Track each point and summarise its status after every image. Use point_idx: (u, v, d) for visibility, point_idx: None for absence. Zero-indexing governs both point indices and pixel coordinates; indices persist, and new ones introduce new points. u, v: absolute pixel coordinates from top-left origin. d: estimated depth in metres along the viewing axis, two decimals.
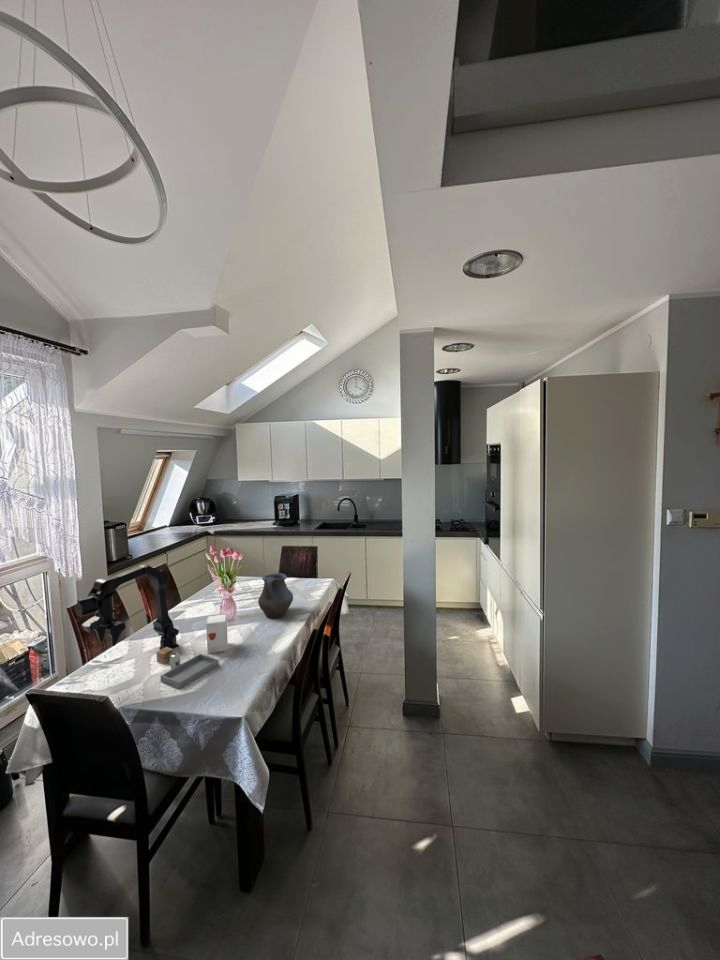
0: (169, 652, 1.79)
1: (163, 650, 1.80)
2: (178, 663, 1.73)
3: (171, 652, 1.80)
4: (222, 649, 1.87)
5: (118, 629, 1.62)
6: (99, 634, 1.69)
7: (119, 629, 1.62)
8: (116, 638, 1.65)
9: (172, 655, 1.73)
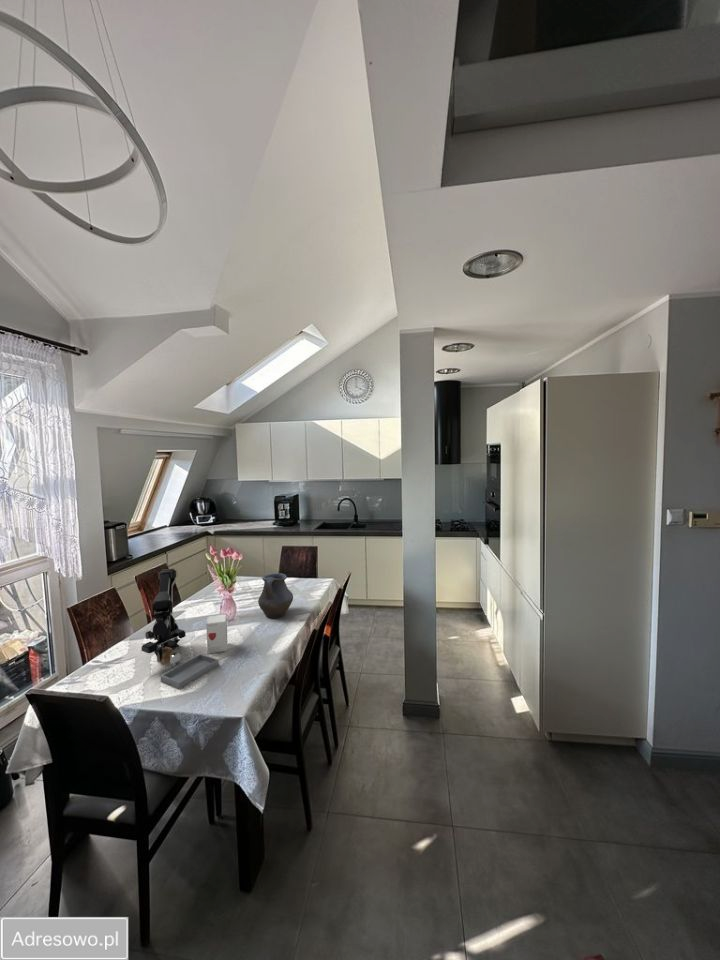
0: (169, 652, 1.79)
1: (163, 650, 1.80)
2: (178, 663, 1.73)
3: (171, 652, 1.80)
4: (222, 649, 1.87)
5: (144, 650, 1.72)
6: None
7: (145, 650, 1.71)
8: (159, 656, 1.76)
9: (172, 655, 1.73)
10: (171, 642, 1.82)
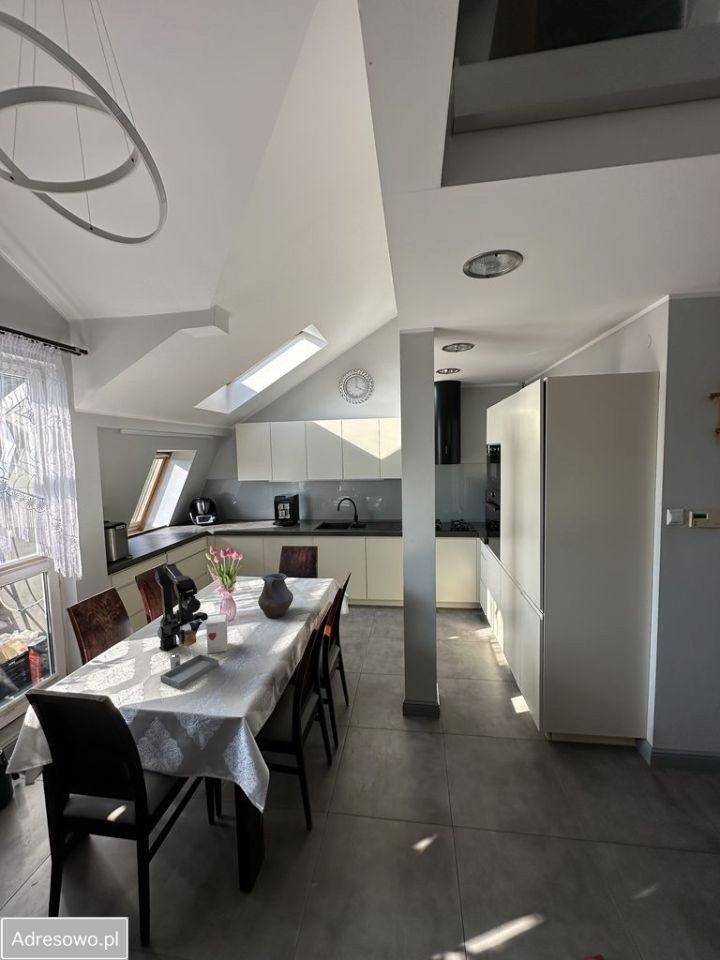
0: (191, 634, 1.72)
1: (185, 632, 1.73)
2: (178, 663, 1.73)
3: (193, 634, 1.73)
4: (222, 649, 1.87)
5: (166, 631, 1.65)
6: None
7: (167, 632, 1.65)
8: (181, 638, 1.70)
9: (172, 655, 1.73)
10: (193, 625, 1.75)
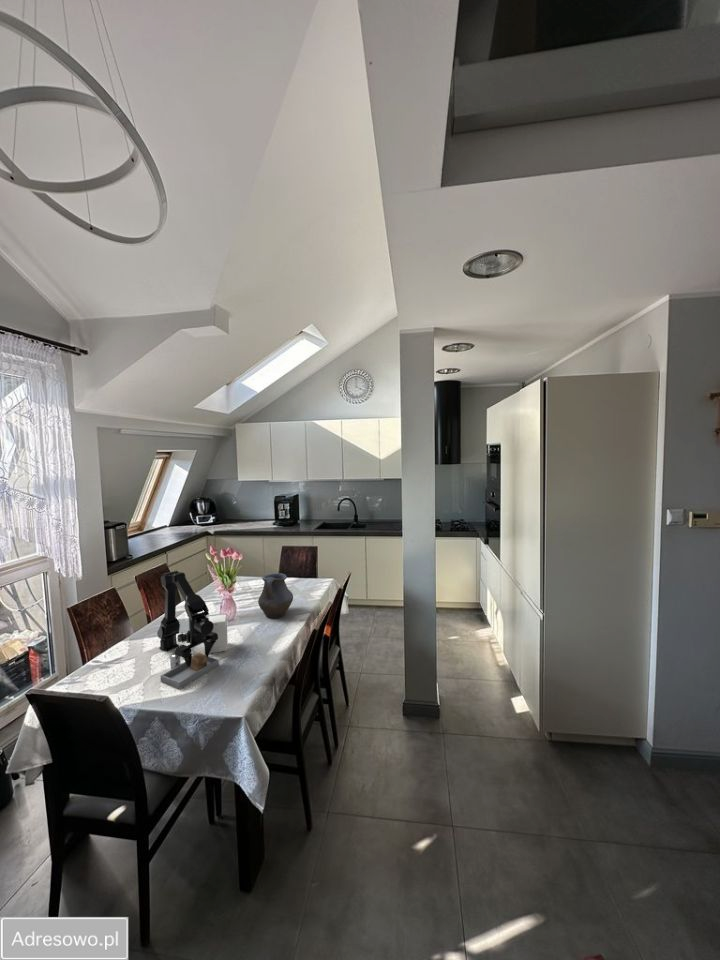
0: (202, 658, 1.72)
1: (196, 656, 1.72)
2: (178, 663, 1.73)
3: (204, 658, 1.72)
4: (222, 649, 1.87)
5: (178, 653, 1.64)
6: (205, 649, 1.77)
7: (178, 654, 1.64)
8: (188, 661, 1.67)
9: (172, 655, 1.73)
10: (207, 643, 1.76)
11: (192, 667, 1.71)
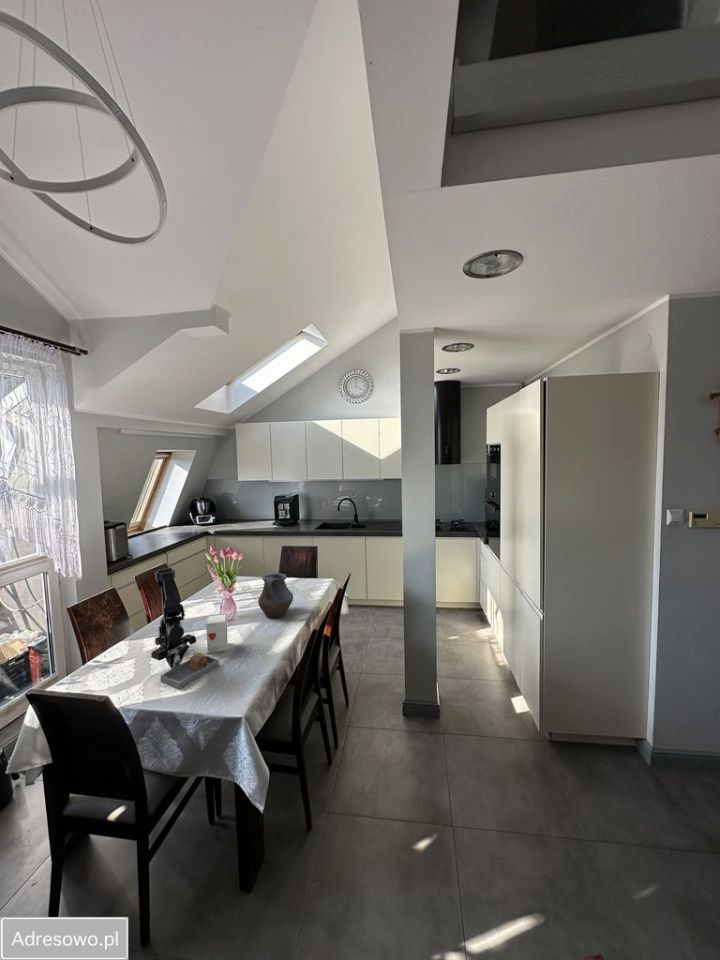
0: (202, 658, 1.72)
1: (196, 656, 1.72)
2: (178, 663, 1.73)
3: (204, 658, 1.72)
4: (222, 649, 1.87)
5: (154, 657, 1.65)
6: None
7: (155, 657, 1.65)
8: (170, 662, 1.70)
9: None
10: (180, 649, 1.75)
11: (192, 667, 1.71)
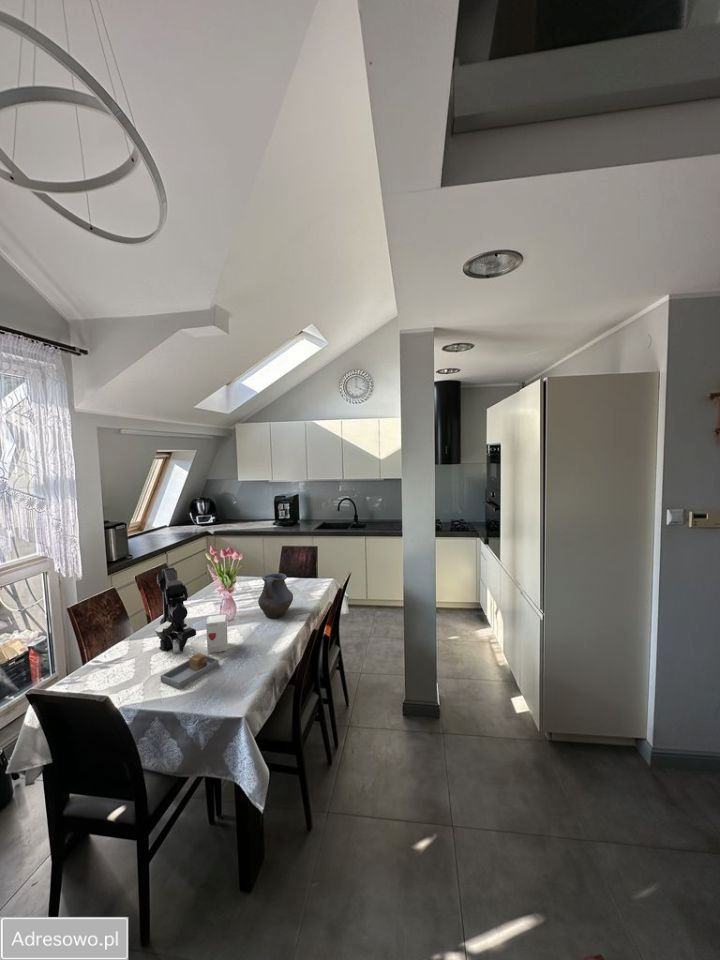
0: (202, 658, 1.72)
1: (196, 656, 1.72)
2: None
3: (204, 658, 1.72)
4: (222, 649, 1.87)
5: (189, 635, 1.59)
6: None
7: (190, 635, 1.59)
8: (184, 643, 1.64)
9: None
10: (175, 633, 1.66)
11: (192, 667, 1.71)
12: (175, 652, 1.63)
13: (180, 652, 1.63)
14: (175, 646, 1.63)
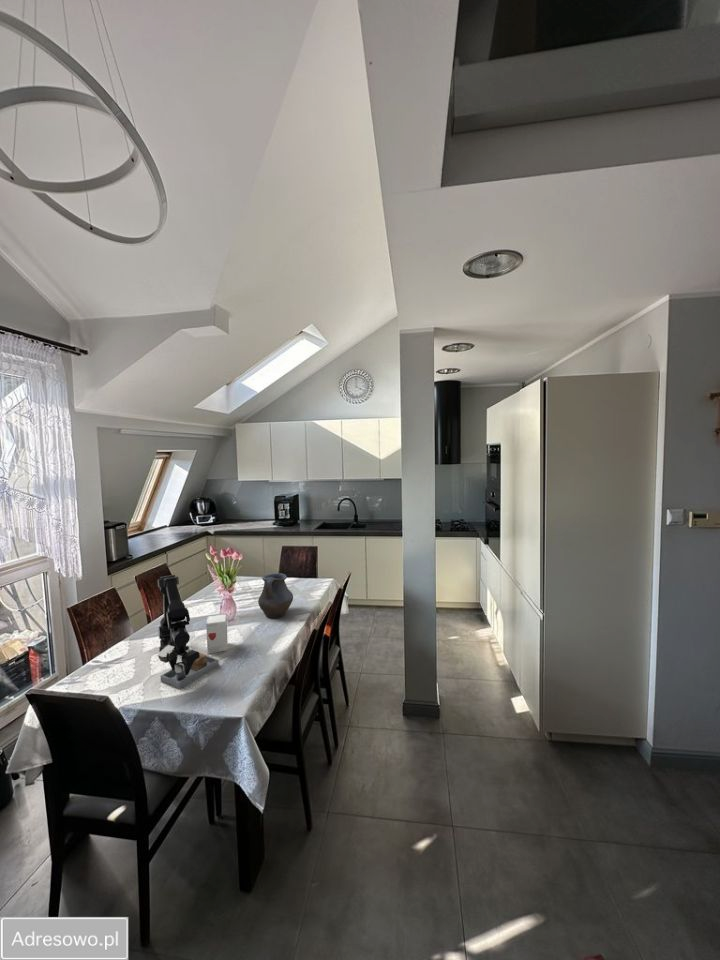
0: (202, 658, 1.72)
1: None
2: None
3: (204, 658, 1.72)
4: (222, 649, 1.87)
5: (193, 659, 1.59)
6: (171, 663, 1.66)
7: (194, 659, 1.60)
8: (190, 667, 1.63)
9: (180, 665, 1.63)
10: None
11: (192, 667, 1.71)
12: (177, 678, 1.63)
13: (182, 677, 1.63)
14: (177, 672, 1.62)
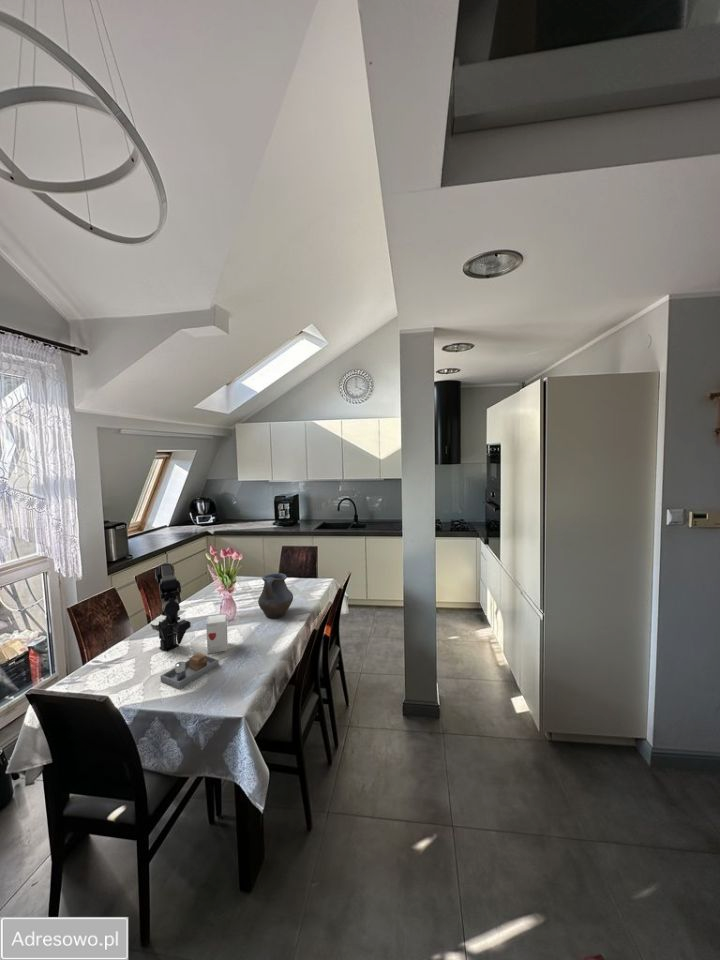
0: (202, 658, 1.72)
1: (196, 656, 1.72)
2: None
3: (204, 658, 1.72)
4: (222, 649, 1.87)
5: (184, 627, 1.67)
6: (163, 632, 1.74)
7: (185, 627, 1.67)
8: (182, 636, 1.70)
9: (180, 665, 1.63)
10: None
11: (192, 667, 1.71)
12: (177, 678, 1.63)
13: (182, 678, 1.63)
14: (177, 672, 1.62)
